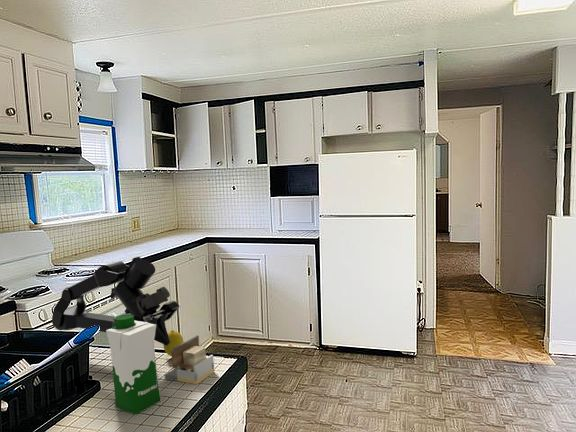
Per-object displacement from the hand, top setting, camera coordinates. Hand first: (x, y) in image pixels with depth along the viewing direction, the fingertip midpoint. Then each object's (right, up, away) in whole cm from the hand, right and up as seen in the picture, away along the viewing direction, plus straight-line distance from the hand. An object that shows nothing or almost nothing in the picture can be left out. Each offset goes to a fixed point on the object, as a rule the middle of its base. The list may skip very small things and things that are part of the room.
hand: (168, 343), depth 118 cm
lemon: (-1, -7, +10) cm, 12 cm away
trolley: (+7, -6, -3) cm, 10 cm away
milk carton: (-2, -9, -16) cm, 19 cm away
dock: (+6, -7, -2) cm, 10 cm away
